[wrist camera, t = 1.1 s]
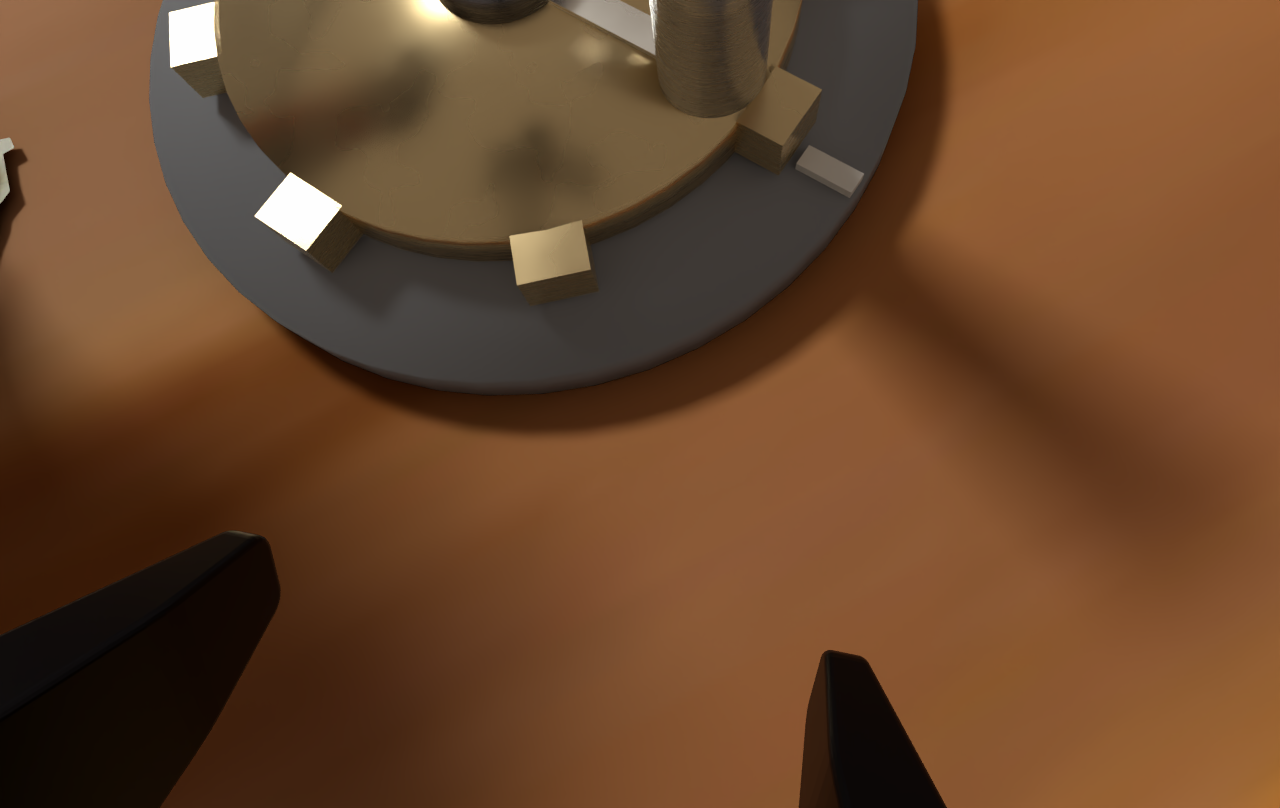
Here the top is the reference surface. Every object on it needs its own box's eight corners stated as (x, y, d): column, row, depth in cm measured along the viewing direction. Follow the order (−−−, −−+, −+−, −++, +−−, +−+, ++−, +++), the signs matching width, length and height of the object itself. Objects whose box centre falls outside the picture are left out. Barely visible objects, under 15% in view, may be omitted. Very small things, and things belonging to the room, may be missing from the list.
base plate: (1045, 225, 23) (1072, 195, 21) (256, 511, 23) (218, 504, 22) (741, -330, 30) (742, -388, 28) (129, -102, 30) (93, -146, 28)
